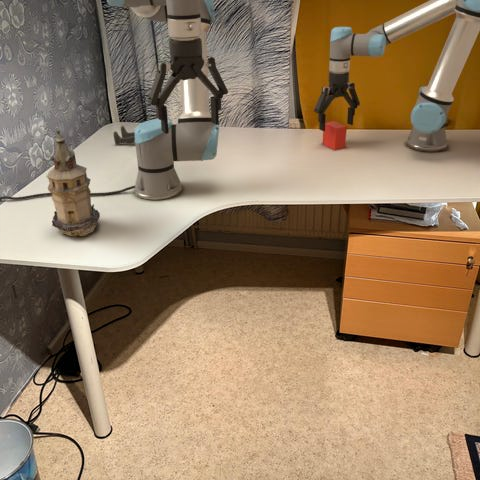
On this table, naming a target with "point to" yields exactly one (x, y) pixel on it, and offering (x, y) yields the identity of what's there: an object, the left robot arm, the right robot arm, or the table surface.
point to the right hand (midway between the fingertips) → (336, 127)
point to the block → (334, 135)
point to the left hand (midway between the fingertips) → (190, 127)
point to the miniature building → (70, 193)
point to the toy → (124, 137)
